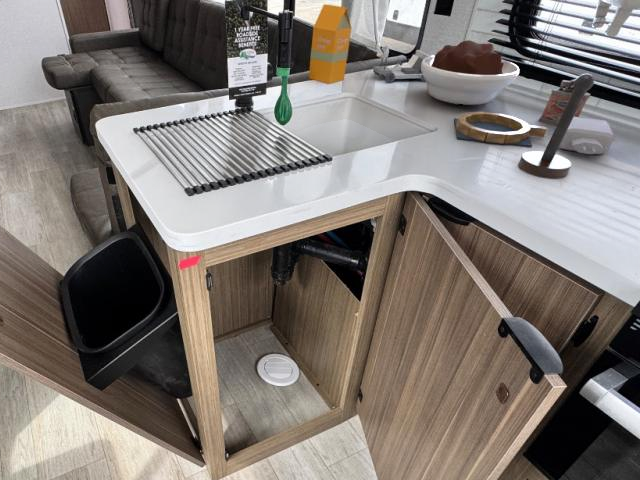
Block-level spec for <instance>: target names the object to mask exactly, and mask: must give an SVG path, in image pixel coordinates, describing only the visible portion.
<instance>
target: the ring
mask: <svg viewBox="0 0 640 480" xmlns="http://www.w3.org/2000/svg"><path fill="white" fill-rule="evenodd" d="M457 119H458V120H457V123H456V128H457V131H459V132H461V133H462V134H464V135H466V136H468V137H471V138H475V139H478V140H482V141H484V140H485V141H486V142H495V143H515V142H521V141H522V140H524V139H526V138H527V136H528V137H535V138H545V135H546V133H547V131H548V127H547V126H540V125H534V124H533V125H532V124H529V123H528V122H527V121H524V120H522V119H520V118H518V117H516V116H512V115H507V114H504V113H499V112H489V111H473V112H466V113H462V114H461V115H459V116H458V117H457ZM470 122H489V123H496V124H500V125H504V126H508V127H510V128H512V129H514V130H516V131H513V132H497V131H488V130H485V129H481V128H477V127H474V126H472V125H471V124H469V123H470ZM486 142H485V143H486ZM495 143H494V144H495Z"/></svg>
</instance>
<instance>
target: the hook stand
mask: <svg viewBox="0 0 640 480" xmlns="http://www.w3.org/2000/svg"><path fill="white" fill-rule="evenodd" d="M594 83H595V78H594V76H593V75H592V74H590V73H583V74H580V75H579V76H577V78H575V81H574V84H573V87H574V90H573V92H572V94H571V97H570V99H569V101H568V103H567V105H566V107H565V109H564V111H563V113H562V116H561V118H560V120H559V122H558V124H557V125H555V128H554V130H553V132H552V135H551V137H550V139H549V141H548V143H547V145H546V147H545V149H544V151H541V150H540V151H539V150H532V151H531V150H530V151H526V152H523V153H522V155H521V157H520V159H519V161H518V164H517V167H518V168H519V169H520V170H522V171H523V172H525V173H527V174H529V175H532V176H534V177H539V178H544V179H561V178H564V177H566V176H567V175H568V173H569V171H570V169H571V168H572V162H571V160H570V159H568V158H566V157H564V156H562V155H559V154H557V152H558V150H559V149H560V147H559V146H560V144H561V142H562V140H563V138H564V136H565V134H566V132H567V130H568V128H569V125H570V123H571V121H572V119H573V117H574V115H575V113H576V111H577V109H578V107H579V105H580V103H581V101H582V99H583V97H584V95H585V93H587V91H589V90H591V88H592V87H593V86H594Z"/></svg>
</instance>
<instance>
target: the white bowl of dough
mask: <svg viewBox="0 0 640 480" xmlns="http://www.w3.org/2000/svg"><path fill="white" fill-rule="evenodd" d="M502 58H503V56H502V55H501V54H500V53H499V52H495V47H494V44H493V43H490V42H489V43H478V42H476V41H474V40H471V39H468V40H462V41H460V42H459V43H457V45H450V44H446V45H444V46H443V47H442V49H440V50H438V51H437V52H436V53H435V54H432V55H430V56H428V57H426V58H425V59H423V61H422V62H421V71H422V74H423V77H424V79H425V80H426V82H425V83H426V89H427V93H428V94H429V95H430V96H431V97H432V98H434V99H436V100H438V101H441V102H444V103H448V104H452V103H453V105H458V104H463V105H462V106H477V105H484V104H487V103H490V102H491V101H493V100H494V99H496V97H497V96H498V95H499V94H500V92H501V91H502V90H504V89H505V88H507V87H509V86H510V85H511V84H512V83H513V82H514V81H515V80H516V79H517V78H518V76H519V74H520V68H519V66H518V65H517V64H515V63H513V62H512V61H508V60H504V59H502Z"/></svg>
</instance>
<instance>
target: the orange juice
mask: <svg viewBox="0 0 640 480" xmlns="http://www.w3.org/2000/svg"><path fill="white" fill-rule="evenodd" d="M347 9H348V8H347V7H346V6H339V5H333V4H331V5H330V4H323V5H322V8H321V9H320V12H319V14H318V15H317V18H316V21H315V22H314V25H313V29H312V38H311V39H312V42H311V49H310V61H309V70H308V79H309V80H313V81H317V82H321V83H324V84H328V85H329V84H330V85H331V84H335V83H337V82H340V81H344V80H345V75H346V68H347V61H348V56H349V49H350V48H349V47H350V40H351V33H352V26H351V22H350V18H349V13H348V10H347Z"/></svg>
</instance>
